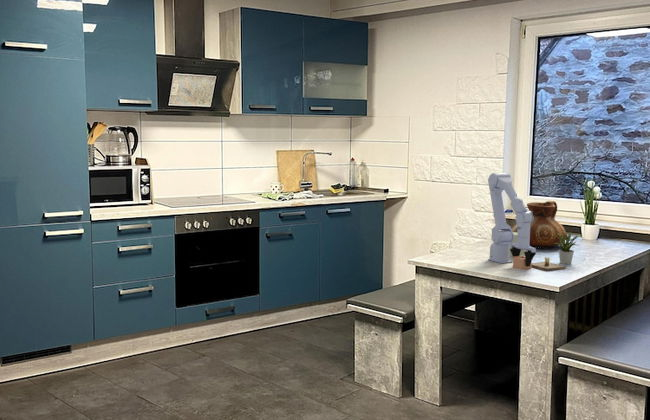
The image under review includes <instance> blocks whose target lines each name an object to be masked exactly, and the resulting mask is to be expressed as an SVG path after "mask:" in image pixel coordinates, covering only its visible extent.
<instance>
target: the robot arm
mask: <svg viewBox="0 0 650 420" xmlns="http://www.w3.org/2000/svg"><path fill="white" fill-rule="evenodd" d="M487 183H488V188H489V194H490V201H491V206H492V212H493V213H492V214H493V218H494V224H495V225H494V226H493V227H492V228H491V240H492V243H491V245H490V246H489V258H488V259H487V260H488V261H491V262H495V263H499V264H506V263H513V260H510V256H509V251H511V253H512V255H513V257H515V256H519V255H520V252H521V249H522V250H526V252H524V254H525V259H526V266H527V267H528V266H530V265H531V261H533V259H534V257H535V255H536V253H537V251H536V249H537V248H533V247H531V246H529V242H530V223H532V221H533V218H534V217H533V214H532V212H531V211H529V209H528V207H526V205H525V203H524V201H523V199H522V198H519V197H518V195H517V192H516V189H515V188H514V186H513V178H512V176H511V174H510V173H509V172H501V173H500V172H499V173H498V172H497V173H496V172H492V173H490V175H489V176H488V179H487ZM503 191H504V192H505V194H506V195H507V197H508V198H509V200H510V207H511V208H512V211H513V212H514V214H515V218H514V219H515V223H516V224H517V227H518V231H517V244H516V243H511V242H512V241H513V239H514V234H513V232H512V226H510V225H509V224H508V223H507V219H506V218H507V217H506V212H505V207H504V201H503V196H502V195H503V194H502V193H503ZM510 244H511V247H512V249H510ZM513 257H512V258H513Z"/></svg>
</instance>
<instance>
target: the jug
mask: <svg viewBox="0 0 650 420" xmlns="http://www.w3.org/2000/svg"><path fill="white" fill-rule="evenodd" d="M526 206H527V207H526V208H527V209H528V210H529V211H531V212H532V214H533V217H534V218H533V221H532V223H530V242H529V246H531V247H533V248H536V249H543V248H547V249H554V248H556V247H557V246H559V245H558V244H556V243H560V242H561V241H560V240H559V239H560V237H559V235H558V234H560V235H561V237H562V238H563V236H564V239H565V241H566V235H565V231H566V229H565V227H564V226H563V225H562V224H561V223H560V222H559V221H557V220H556V214H557V211H558V204H557V202H556V201H553V200H547V201H544V202H542V201H540V202H538V201H537V202H535V201H534V202H533V201H532V202H527V203H526ZM511 230H512V232H517V231H518V227H517V223H515V225H513V227H511ZM556 232H557V233H558V234H557V233H556ZM566 234H567V232H566ZM567 235H568V234H567ZM557 236H558V237H559V238H558V237H557ZM563 241H564V240H563Z"/></svg>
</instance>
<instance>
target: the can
mask: <svg viewBox="0 0 650 420" xmlns="http://www.w3.org/2000/svg"><path fill="white" fill-rule="evenodd" d="M513 234H514V239H513V241H512V242H511V243H516V244H517V232H513ZM510 249H512V247H511V244H510ZM524 252H527V251H526V250H522V249H521V252H520V255H519V256H525V254H524ZM509 257H512V258H513V255H512V253H511V251H509Z"/></svg>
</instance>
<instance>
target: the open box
mask: <svg viewBox="0 0 650 420" xmlns="http://www.w3.org/2000/svg"><path fill="white" fill-rule="evenodd" d="M512 261H513V262H512V267H513V268H515V269H518V270H529V269H532V267H531V265H530V266H528V267H527V266H526V259H525V256H515V257H512ZM532 261H533V260H532ZM532 261H531V264H532V263H533V262H532Z"/></svg>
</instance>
